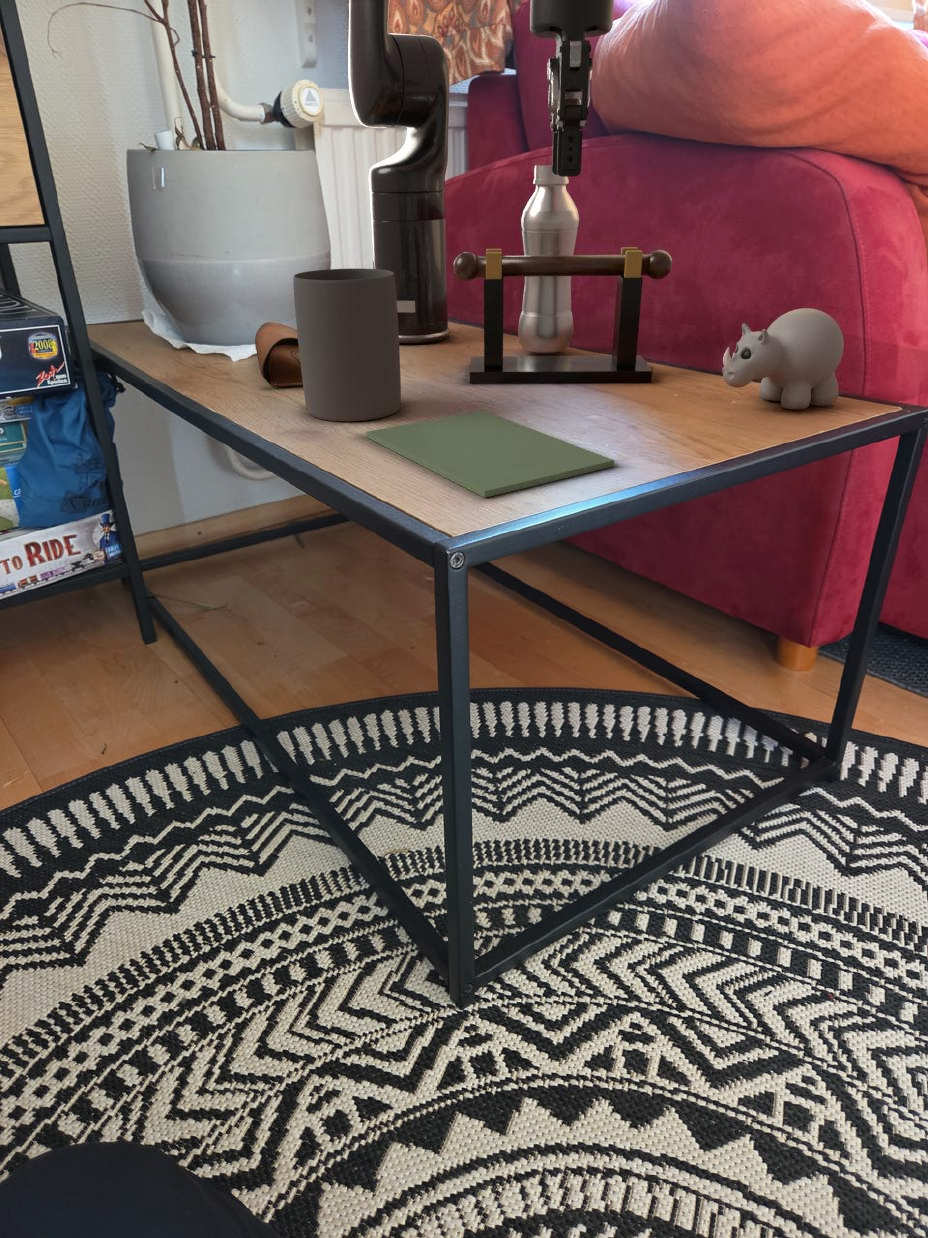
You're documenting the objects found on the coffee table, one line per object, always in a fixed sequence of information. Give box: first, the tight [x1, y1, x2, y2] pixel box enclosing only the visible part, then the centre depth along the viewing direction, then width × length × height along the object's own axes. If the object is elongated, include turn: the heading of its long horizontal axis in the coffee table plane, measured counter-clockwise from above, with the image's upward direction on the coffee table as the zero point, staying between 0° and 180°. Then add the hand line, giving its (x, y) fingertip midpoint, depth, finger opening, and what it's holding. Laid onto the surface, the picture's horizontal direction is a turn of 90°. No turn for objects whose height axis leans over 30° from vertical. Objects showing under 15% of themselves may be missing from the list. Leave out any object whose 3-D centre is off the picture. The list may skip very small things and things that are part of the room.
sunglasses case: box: [254, 321, 303, 388], centre depth 96 cm, size 18×7×7 cm
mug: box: [292, 268, 402, 422], centre depth 80 cm, size 14×9×12 cm
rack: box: [469, 246, 653, 384], centre depth 90 cm, size 8×19×12 cm, turn 88°
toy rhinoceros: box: [721, 307, 845, 411], centre depth 78 cm, size 7×12×8 cm, turn 108°
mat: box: [365, 410, 615, 499], centre depth 69 cm, size 18×12×1 cm, turn 33°
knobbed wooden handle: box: [452, 249, 673, 282], centre depth 88 cm, size 3×22×3 cm, turn 88°
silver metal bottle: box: [517, 164, 580, 355], centre depth 98 cm, size 6×7×20 cm
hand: (565, 175), depth 84 cm, fingers open, 8 cm apart
